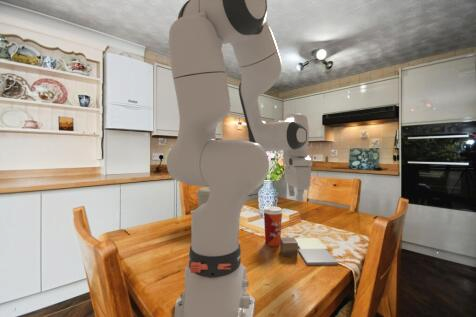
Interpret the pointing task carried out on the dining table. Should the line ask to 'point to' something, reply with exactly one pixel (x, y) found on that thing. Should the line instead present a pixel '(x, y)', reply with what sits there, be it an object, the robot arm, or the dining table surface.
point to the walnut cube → (289, 247)
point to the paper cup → (272, 225)
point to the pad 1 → (310, 243)
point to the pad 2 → (317, 257)
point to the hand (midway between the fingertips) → (295, 198)
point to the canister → (203, 195)
